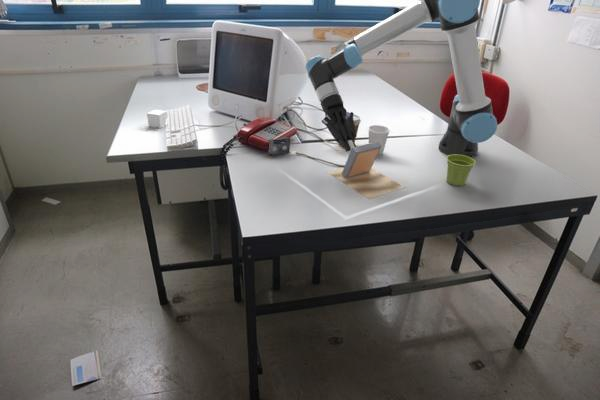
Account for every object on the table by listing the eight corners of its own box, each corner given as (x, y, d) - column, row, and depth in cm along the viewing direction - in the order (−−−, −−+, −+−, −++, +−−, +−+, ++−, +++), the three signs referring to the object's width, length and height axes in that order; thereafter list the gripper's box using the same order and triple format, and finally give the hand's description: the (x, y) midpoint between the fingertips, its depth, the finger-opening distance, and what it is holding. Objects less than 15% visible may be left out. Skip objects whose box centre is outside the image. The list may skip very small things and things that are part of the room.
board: (326, 174, 144) (326, 172, 144) (361, 164, 152) (361, 162, 152) (368, 201, 129) (369, 199, 128) (404, 189, 137) (404, 187, 136)
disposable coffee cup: (343, 139, 174) (345, 111, 168) (362, 145, 169) (365, 117, 163) (330, 145, 168) (332, 116, 162) (349, 151, 163) (352, 122, 157)
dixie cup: (389, 151, 164) (393, 127, 159) (381, 158, 158) (385, 134, 153) (369, 146, 168) (372, 123, 163) (361, 153, 162) (364, 129, 157)
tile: (341, 173, 141) (352, 147, 133) (365, 167, 147) (377, 141, 138) (345, 179, 140) (357, 152, 131) (369, 172, 145) (382, 146, 137)
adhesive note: (160, 128, 178) (158, 115, 175) (148, 126, 179) (146, 113, 176) (168, 124, 183) (166, 111, 180) (156, 122, 184) (154, 109, 181)
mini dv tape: (288, 151, 161) (288, 136, 158) (289, 152, 160) (289, 138, 157) (268, 153, 158) (268, 138, 156) (269, 154, 157) (269, 140, 154)
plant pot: (436, 181, 143) (441, 158, 138) (449, 173, 148) (454, 151, 144) (461, 191, 137) (467, 168, 133) (474, 182, 143) (480, 160, 138)
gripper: (339, 101, 151) (363, 159, 148) (310, 106, 145) (335, 166, 141) (349, 90, 145) (375, 150, 141) (319, 95, 138) (346, 158, 135)
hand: (355, 158), depth 141 cm, fingers closed
